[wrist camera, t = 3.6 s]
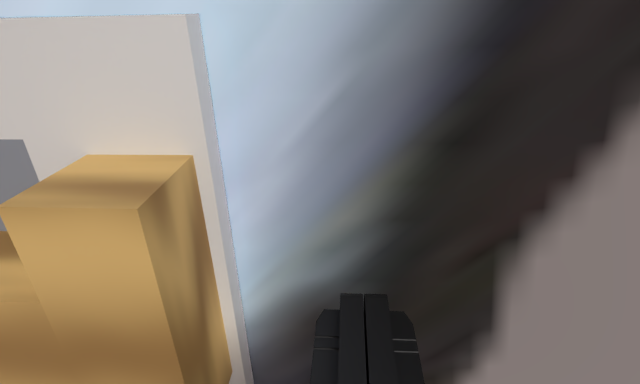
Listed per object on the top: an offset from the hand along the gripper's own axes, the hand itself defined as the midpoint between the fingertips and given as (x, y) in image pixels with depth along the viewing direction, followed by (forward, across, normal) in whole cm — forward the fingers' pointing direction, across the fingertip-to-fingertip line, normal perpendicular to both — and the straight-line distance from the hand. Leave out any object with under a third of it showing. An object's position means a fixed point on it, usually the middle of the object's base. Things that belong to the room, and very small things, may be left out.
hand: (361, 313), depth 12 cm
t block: (+2, +10, 0) cm, 10 cm away
